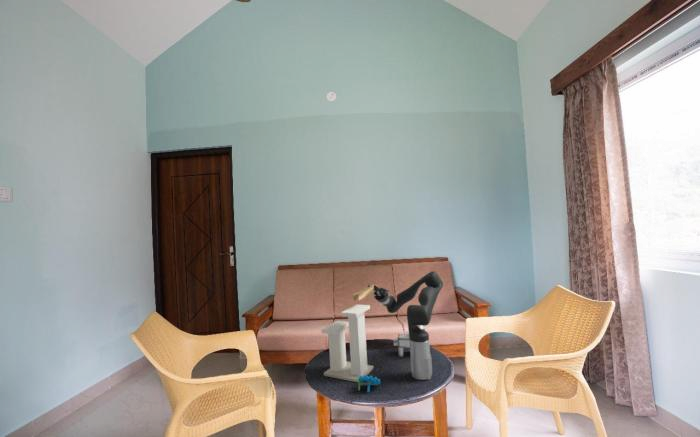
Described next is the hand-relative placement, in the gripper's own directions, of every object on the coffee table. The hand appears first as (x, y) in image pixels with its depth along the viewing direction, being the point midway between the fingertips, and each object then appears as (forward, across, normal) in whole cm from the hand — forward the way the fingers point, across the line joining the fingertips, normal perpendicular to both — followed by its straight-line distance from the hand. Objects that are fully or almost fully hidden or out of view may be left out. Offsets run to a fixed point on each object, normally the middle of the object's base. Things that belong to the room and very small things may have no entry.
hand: (371, 286), depth 171 cm
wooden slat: (+5, 0, +6) cm, 8 cm away
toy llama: (-29, +16, +29) cm, 44 cm away
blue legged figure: (+8, +10, +50) cm, 51 cm away
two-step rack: (-2, -6, +44) cm, 44 cm away
